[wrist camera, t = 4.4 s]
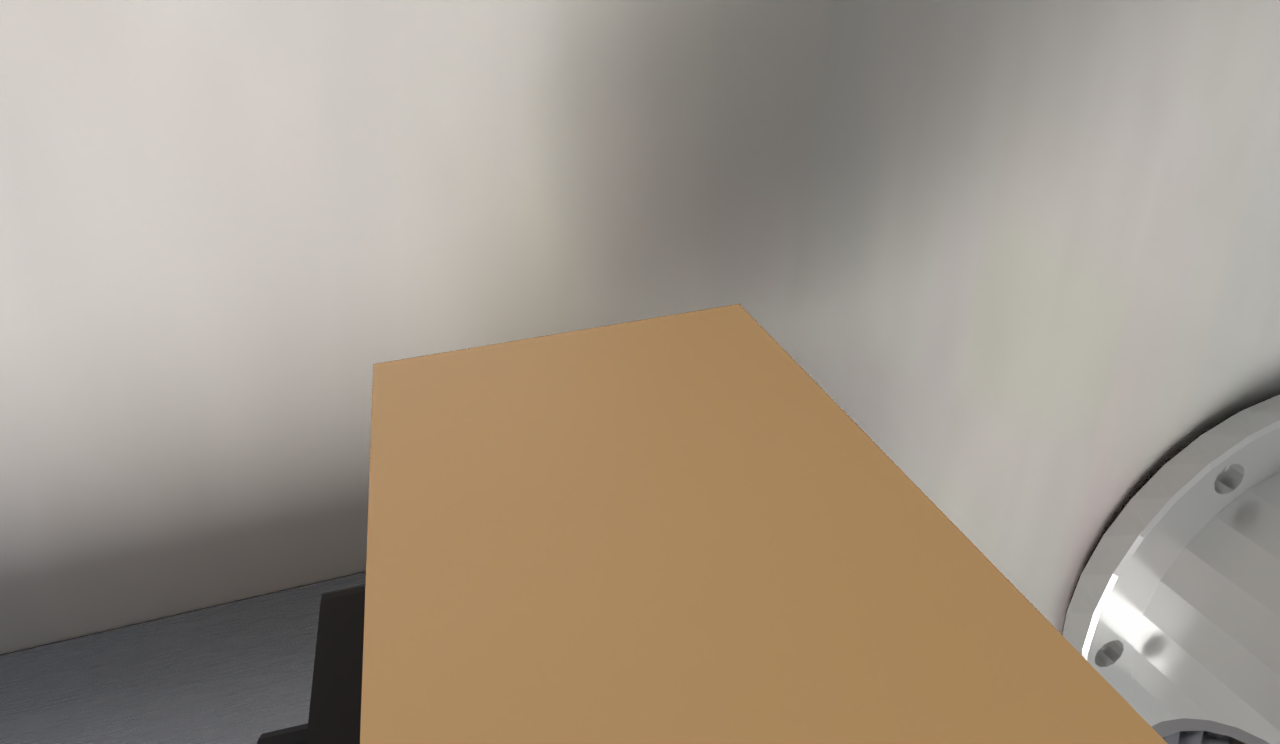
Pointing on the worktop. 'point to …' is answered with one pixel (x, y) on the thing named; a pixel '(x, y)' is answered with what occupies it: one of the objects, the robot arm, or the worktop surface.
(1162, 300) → the worktop surface
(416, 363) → the plug
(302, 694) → the power strip
